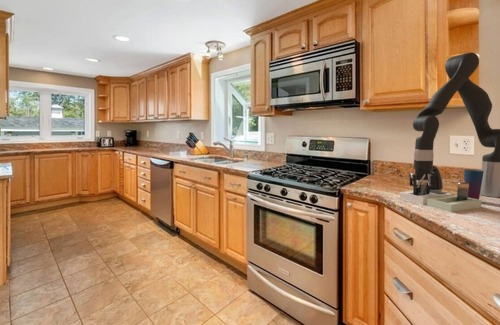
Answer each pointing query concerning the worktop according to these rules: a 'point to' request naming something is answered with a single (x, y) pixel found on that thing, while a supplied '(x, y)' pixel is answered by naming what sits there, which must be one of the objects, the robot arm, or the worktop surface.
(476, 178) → the cup
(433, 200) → the trough rack
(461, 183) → the cell
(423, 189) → the cell
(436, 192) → the battery tester
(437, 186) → the black tapered dome
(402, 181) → the worktop surface
